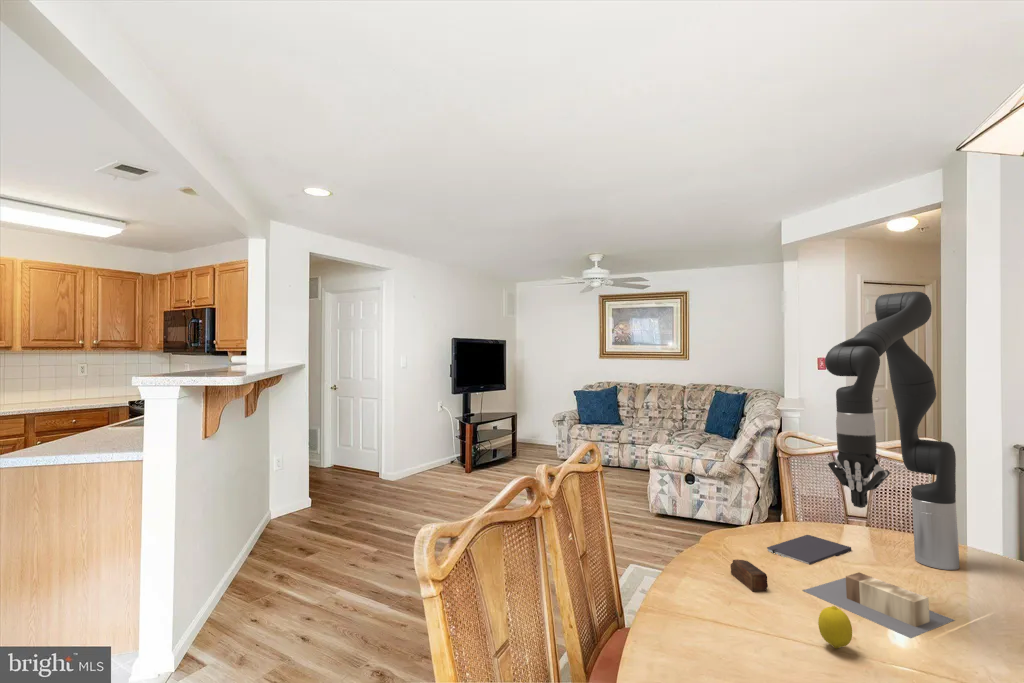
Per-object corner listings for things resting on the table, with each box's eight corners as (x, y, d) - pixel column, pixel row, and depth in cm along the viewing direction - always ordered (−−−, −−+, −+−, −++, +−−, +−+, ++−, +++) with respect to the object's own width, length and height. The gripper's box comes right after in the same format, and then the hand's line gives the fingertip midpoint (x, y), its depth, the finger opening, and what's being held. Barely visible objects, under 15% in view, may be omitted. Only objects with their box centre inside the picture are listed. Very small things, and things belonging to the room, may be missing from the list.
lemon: (812, 641, 98) (810, 600, 99) (838, 639, 99) (837, 598, 99) (833, 657, 93) (831, 614, 93) (860, 655, 93) (858, 612, 94)
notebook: (809, 568, 134) (851, 552, 144) (809, 562, 134) (851, 547, 144) (765, 553, 145) (807, 539, 156) (765, 547, 145) (807, 534, 156)
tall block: (859, 572, 117) (928, 597, 104) (860, 593, 117) (929, 621, 104) (845, 576, 115) (914, 602, 102) (846, 598, 115) (915, 627, 102)
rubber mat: (844, 579, 126) (844, 577, 126) (955, 621, 105) (955, 620, 105) (802, 592, 119) (802, 590, 119) (910, 640, 98) (910, 638, 98)
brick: (768, 593, 119) (767, 573, 119) (752, 594, 119) (752, 574, 119) (745, 575, 130) (744, 557, 130) (730, 575, 129) (729, 557, 130)
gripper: (896, 433, 111) (901, 512, 110) (837, 427, 123) (841, 497, 122) (876, 436, 108) (880, 517, 107) (817, 429, 120) (821, 501, 119)
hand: (859, 506), depth 115 cm, fingers closed
